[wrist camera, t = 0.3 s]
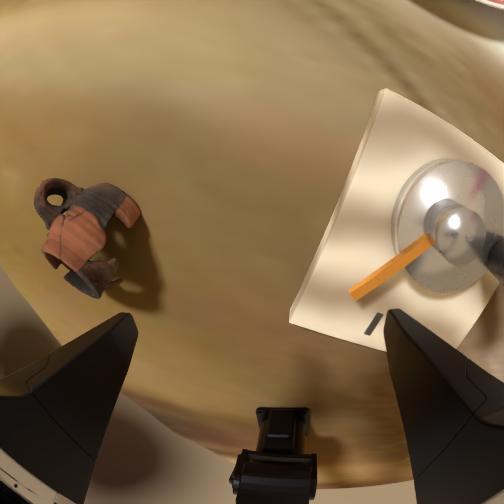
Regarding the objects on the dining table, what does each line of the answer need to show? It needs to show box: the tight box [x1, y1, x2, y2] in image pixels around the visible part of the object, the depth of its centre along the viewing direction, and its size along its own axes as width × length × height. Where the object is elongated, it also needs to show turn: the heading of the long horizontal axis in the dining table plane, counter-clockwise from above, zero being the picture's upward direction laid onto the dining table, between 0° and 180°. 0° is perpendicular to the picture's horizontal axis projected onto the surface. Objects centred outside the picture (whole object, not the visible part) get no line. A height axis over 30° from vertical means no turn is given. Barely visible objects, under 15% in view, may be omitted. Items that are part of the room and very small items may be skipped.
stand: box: [289, 88, 504, 352], centre depth 21 cm, size 20×18×2 cm
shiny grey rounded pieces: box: [348, 158, 504, 301], centre depth 14 cm, size 13×13×11 cm
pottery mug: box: [34, 178, 141, 299], centre depth 24 cm, size 12×10×8 cm
